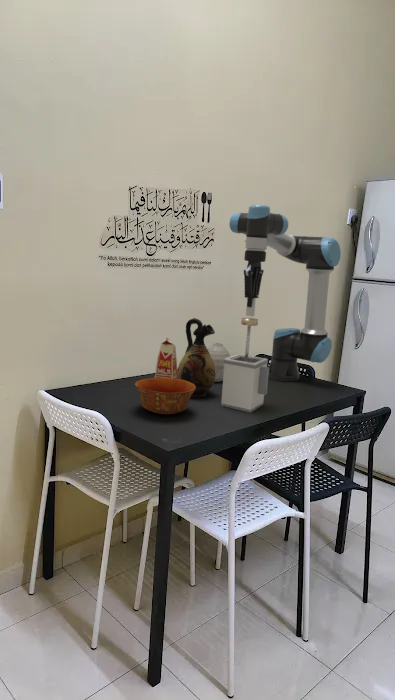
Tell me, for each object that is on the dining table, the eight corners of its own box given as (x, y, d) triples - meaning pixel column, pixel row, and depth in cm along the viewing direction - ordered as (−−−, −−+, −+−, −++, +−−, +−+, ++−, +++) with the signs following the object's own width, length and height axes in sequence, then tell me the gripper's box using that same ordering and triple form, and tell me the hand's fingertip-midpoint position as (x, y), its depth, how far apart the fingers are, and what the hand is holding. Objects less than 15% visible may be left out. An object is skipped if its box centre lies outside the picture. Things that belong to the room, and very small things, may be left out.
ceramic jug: (221, 393, 209) (226, 320, 203) (201, 402, 196) (207, 324, 190) (185, 385, 217) (189, 314, 211) (164, 393, 204) (168, 318, 198)
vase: (213, 385, 221) (216, 346, 217) (195, 378, 230) (197, 341, 227) (235, 381, 229) (238, 344, 225) (216, 374, 238) (219, 339, 235)
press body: (234, 398, 204) (238, 353, 200) (270, 406, 197) (275, 360, 193) (220, 405, 193) (224, 358, 189) (258, 414, 186) (262, 365, 182)
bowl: (150, 398, 196) (151, 373, 194) (202, 408, 189) (204, 382, 187) (123, 414, 177) (124, 386, 175) (180, 425, 170) (181, 396, 168)
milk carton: (174, 386, 215) (176, 339, 211) (152, 384, 216) (154, 337, 212) (178, 381, 223) (181, 335, 219) (157, 378, 225) (159, 333, 221)
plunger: (238, 371, 199) (243, 316, 195) (261, 375, 195) (266, 319, 191) (228, 375, 191) (232, 318, 187) (251, 380, 187) (256, 321, 183)
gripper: (253, 249, 191) (247, 313, 196) (238, 249, 180) (233, 316, 185) (272, 251, 188) (266, 315, 192) (258, 250, 176) (252, 318, 181)
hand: (250, 315), depth 189 cm, fingers closed
